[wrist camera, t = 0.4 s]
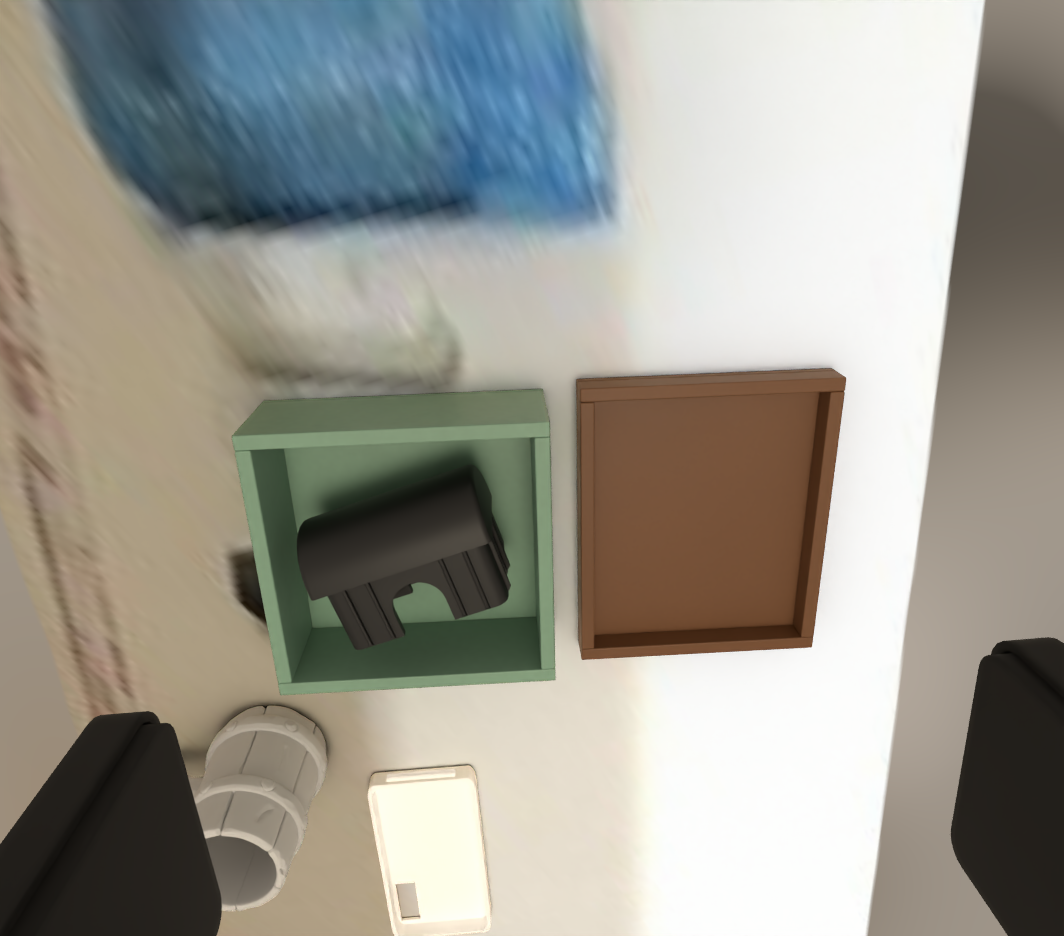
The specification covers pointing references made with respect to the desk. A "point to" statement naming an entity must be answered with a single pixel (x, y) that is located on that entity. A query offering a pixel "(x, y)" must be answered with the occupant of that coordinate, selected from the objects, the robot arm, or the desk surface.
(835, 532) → the desk surface
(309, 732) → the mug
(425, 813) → the phone case
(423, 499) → the end cap
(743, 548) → the tray
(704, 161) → the desk surface
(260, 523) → the tote
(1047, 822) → the robot arm
